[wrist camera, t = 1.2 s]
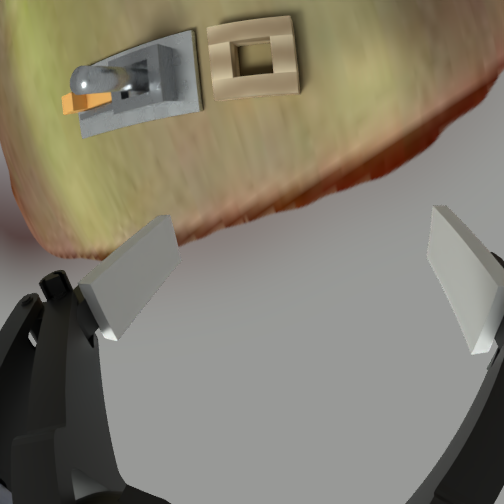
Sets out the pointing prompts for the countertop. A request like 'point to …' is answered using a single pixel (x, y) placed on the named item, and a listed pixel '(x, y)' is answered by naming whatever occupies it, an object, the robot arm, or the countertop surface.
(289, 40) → the light wood square frame
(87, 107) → the orange block
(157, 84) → the socket station
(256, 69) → the countertop surface
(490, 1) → the countertop surface
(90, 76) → the peg
